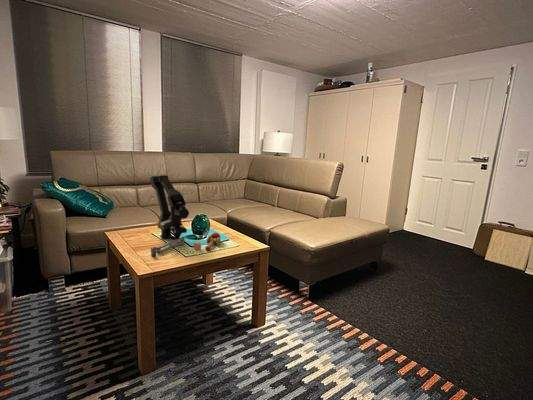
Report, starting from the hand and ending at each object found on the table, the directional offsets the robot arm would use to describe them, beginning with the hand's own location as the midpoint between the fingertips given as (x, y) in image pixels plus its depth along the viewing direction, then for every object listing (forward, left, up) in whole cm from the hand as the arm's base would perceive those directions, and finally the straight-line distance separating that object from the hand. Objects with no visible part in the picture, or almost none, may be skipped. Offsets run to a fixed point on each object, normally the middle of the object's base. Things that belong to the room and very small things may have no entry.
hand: (176, 241), depth 168 cm
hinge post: (+13, -16, -1) cm, 21 cm away
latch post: (+16, +6, -1) cm, 17 cm away
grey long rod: (+7, -5, -1) cm, 9 cm away
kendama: (+14, +16, -2) cm, 21 cm away
